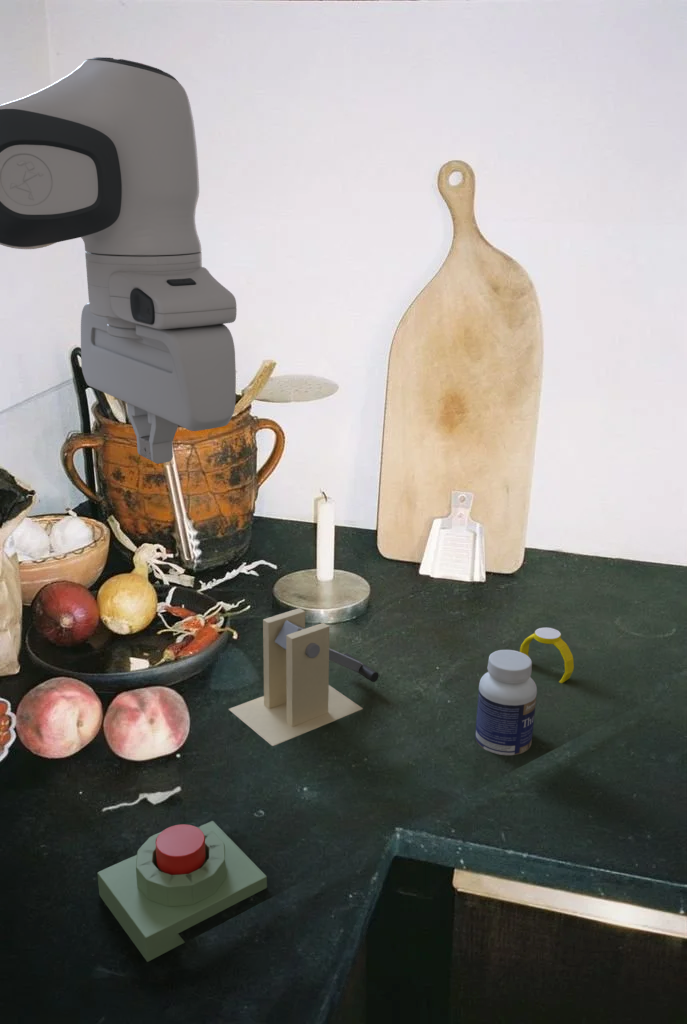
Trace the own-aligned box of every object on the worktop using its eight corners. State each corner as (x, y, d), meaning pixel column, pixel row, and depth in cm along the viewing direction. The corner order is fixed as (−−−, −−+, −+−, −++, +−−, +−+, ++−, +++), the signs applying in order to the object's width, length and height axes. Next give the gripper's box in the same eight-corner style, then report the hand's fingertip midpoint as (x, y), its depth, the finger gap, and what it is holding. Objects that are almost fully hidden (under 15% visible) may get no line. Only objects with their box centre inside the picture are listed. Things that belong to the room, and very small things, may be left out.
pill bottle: (529, 769, 87) (538, 677, 84) (471, 760, 88) (478, 669, 85) (532, 737, 92) (541, 649, 89) (477, 729, 93) (484, 642, 90)
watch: (575, 687, 101) (580, 638, 99) (561, 696, 99) (567, 647, 97) (527, 667, 105) (532, 619, 103) (513, 676, 103) (518, 628, 101)
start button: (171, 883, 67) (169, 863, 67) (148, 855, 70) (146, 836, 69) (214, 862, 70) (213, 843, 69) (190, 836, 72) (189, 817, 72)
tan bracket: (316, 685, 100) (317, 594, 97) (363, 718, 95) (366, 622, 91) (228, 719, 94) (225, 622, 90) (272, 757, 88) (271, 655, 84)
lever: (342, 669, 100) (353, 649, 100) (372, 689, 96) (383, 668, 97) (266, 636, 92) (277, 614, 92) (295, 656, 88) (307, 633, 88)
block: (147, 962, 65) (144, 917, 64) (99, 895, 71) (95, 852, 70) (267, 899, 71) (267, 856, 70) (213, 842, 77) (212, 801, 76)
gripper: (55, 278, 79) (69, 436, 84) (171, 308, 64) (180, 498, 69) (124, 274, 83) (134, 426, 88) (249, 301, 68) (252, 483, 73)
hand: (155, 458), depth 78 cm, fingers closed
